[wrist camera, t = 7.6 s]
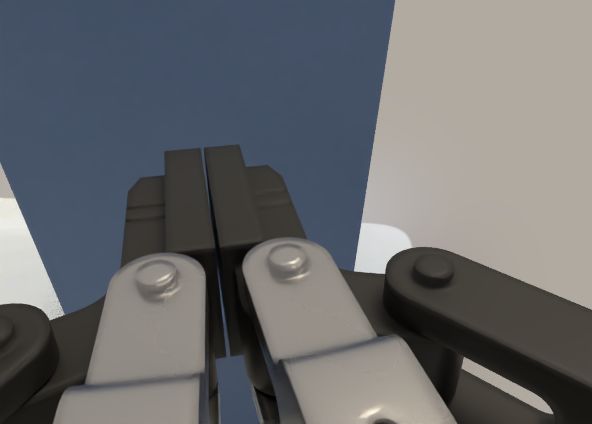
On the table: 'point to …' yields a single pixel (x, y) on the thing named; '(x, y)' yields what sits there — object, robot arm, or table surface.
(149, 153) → the box lid
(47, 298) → the table surface
